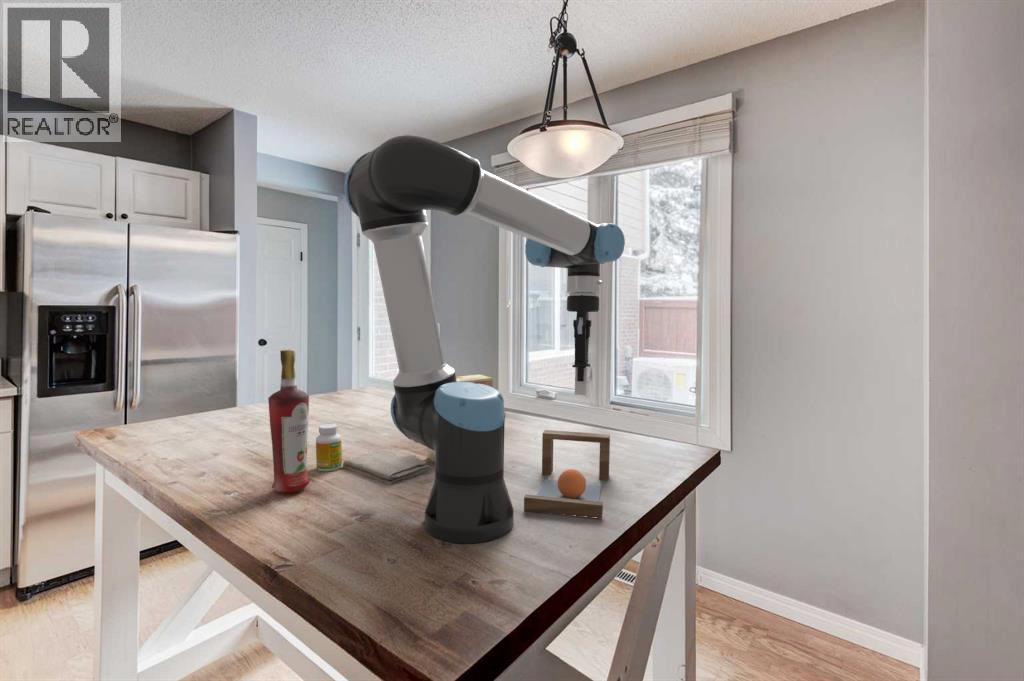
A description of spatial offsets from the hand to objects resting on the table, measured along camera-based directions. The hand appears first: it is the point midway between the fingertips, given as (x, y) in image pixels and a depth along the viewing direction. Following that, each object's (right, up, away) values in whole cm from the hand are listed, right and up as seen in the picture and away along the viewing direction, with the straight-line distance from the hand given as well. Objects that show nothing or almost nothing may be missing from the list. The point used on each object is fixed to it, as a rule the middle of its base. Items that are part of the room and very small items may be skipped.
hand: (580, 394), depth 118 cm
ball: (-5, -15, -22) cm, 27 cm away
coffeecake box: (-29, -16, +4) cm, 33 cm away
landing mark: (-5, -18, -20) cm, 27 cm away
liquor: (-60, -17, -19) cm, 66 cm away
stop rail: (-7, -18, -29) cm, 35 cm away
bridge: (-2, -17, -8) cm, 19 cm away
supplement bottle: (-58, -16, -6) cm, 60 cm away
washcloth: (-45, -17, -6) cm, 48 cm away
